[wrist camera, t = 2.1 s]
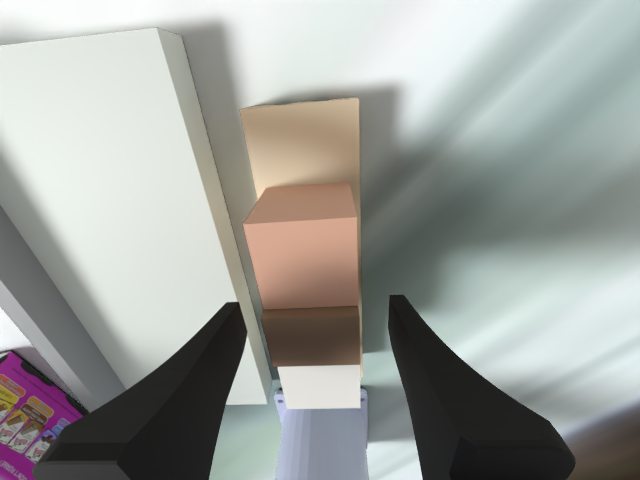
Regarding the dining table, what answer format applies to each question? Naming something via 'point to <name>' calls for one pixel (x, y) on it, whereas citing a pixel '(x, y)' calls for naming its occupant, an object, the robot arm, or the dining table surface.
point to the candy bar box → (29, 416)
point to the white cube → (321, 386)
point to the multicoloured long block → (309, 169)
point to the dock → (114, 212)
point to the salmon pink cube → (305, 246)
